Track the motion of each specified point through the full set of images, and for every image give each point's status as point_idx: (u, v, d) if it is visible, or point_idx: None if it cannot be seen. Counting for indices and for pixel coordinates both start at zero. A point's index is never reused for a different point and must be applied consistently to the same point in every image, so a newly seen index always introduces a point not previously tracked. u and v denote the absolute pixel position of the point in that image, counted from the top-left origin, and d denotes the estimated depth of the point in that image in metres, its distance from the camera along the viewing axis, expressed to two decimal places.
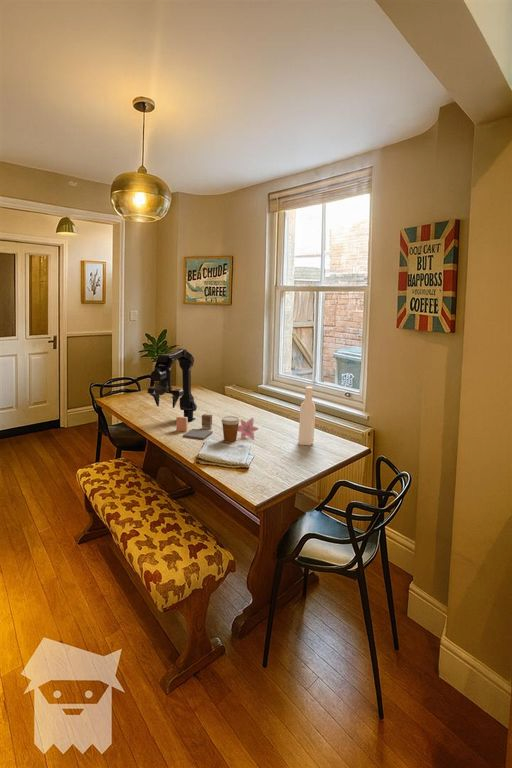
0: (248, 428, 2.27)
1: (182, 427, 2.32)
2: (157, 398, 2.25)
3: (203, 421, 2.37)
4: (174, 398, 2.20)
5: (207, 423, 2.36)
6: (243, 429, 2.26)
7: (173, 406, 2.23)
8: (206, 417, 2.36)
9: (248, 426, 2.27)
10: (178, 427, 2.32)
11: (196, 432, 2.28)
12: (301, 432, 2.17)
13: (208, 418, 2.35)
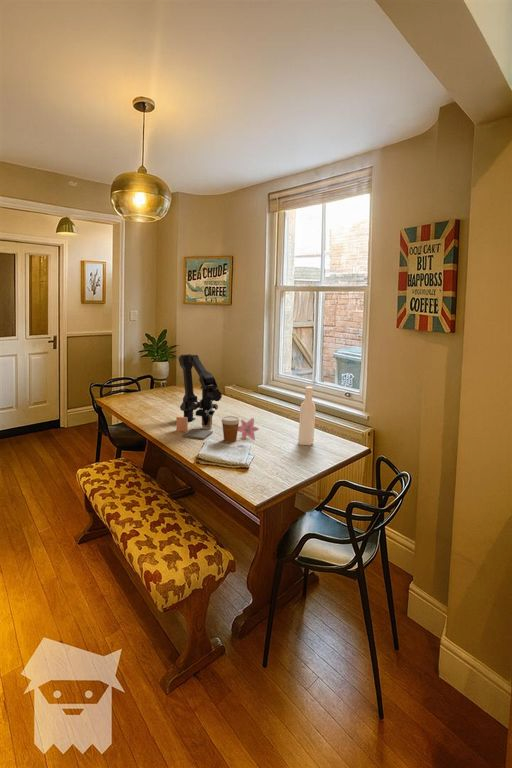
0: (249, 428, 2.27)
1: (182, 427, 2.32)
2: None
3: (203, 421, 2.37)
4: None
5: (207, 423, 2.36)
6: (243, 429, 2.26)
7: (204, 423, 2.36)
8: None
9: (248, 426, 2.27)
10: (178, 427, 2.32)
11: (196, 432, 2.28)
12: (301, 432, 2.17)
13: None
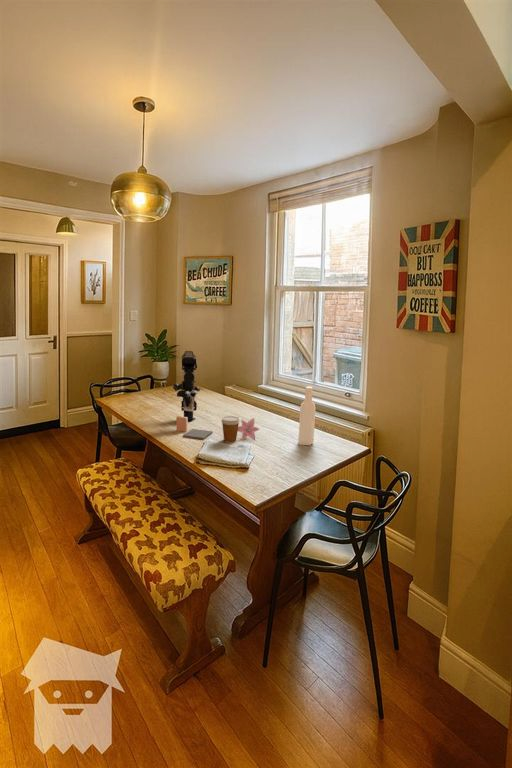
0: (249, 428, 2.27)
1: (182, 427, 2.32)
2: None
3: None
4: None
5: (189, 404, 2.36)
6: (244, 429, 2.25)
7: None
8: None
9: (249, 426, 2.26)
10: (178, 427, 2.32)
11: (196, 432, 2.28)
12: (301, 432, 2.17)
13: None
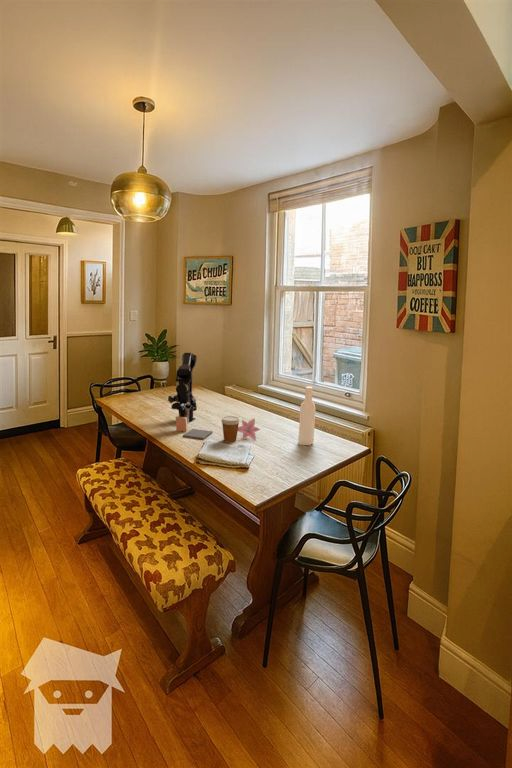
0: (249, 429, 2.26)
1: (182, 427, 2.31)
2: None
3: None
4: None
5: None
6: (244, 430, 2.25)
7: None
8: None
9: (249, 427, 2.26)
10: (178, 427, 2.32)
11: (196, 432, 2.28)
12: (301, 432, 2.17)
13: None
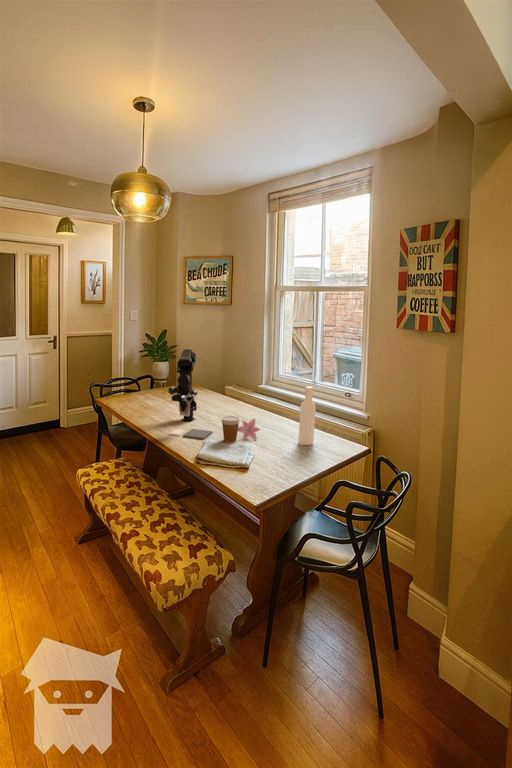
0: (250, 429, 2.26)
1: None
2: None
3: None
4: None
5: (185, 409, 2.25)
6: (245, 430, 2.25)
7: None
8: None
9: (250, 427, 2.26)
10: None
11: (196, 432, 2.28)
12: (301, 432, 2.17)
13: None
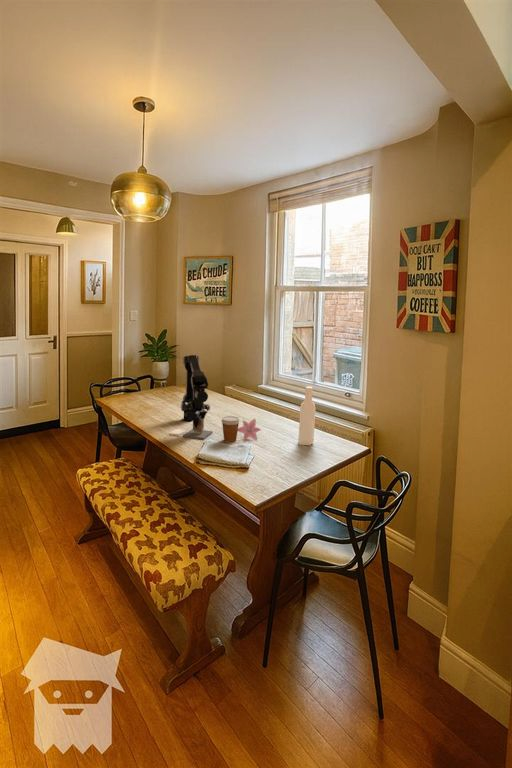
0: (250, 429, 2.26)
1: None
2: None
3: None
4: None
5: (198, 427, 2.25)
6: (245, 430, 2.24)
7: (194, 425, 2.23)
8: None
9: (250, 427, 2.26)
10: None
11: None
12: (301, 432, 2.17)
13: (199, 422, 2.24)
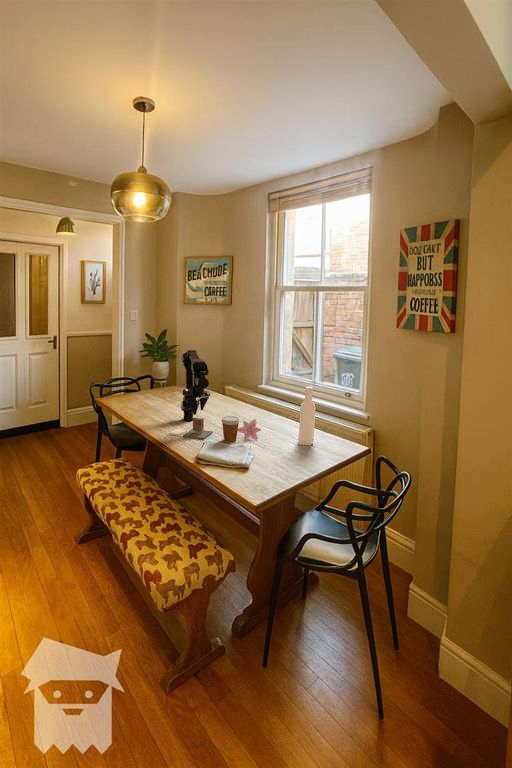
0: (251, 429, 2.26)
1: None
2: (201, 402, 2.33)
3: (194, 425, 2.25)
4: None
5: (198, 427, 2.25)
6: (245, 430, 2.24)
7: (193, 412, 2.24)
8: (197, 421, 2.24)
9: (251, 427, 2.25)
10: None
11: None
12: (301, 432, 2.17)
13: (199, 422, 2.24)
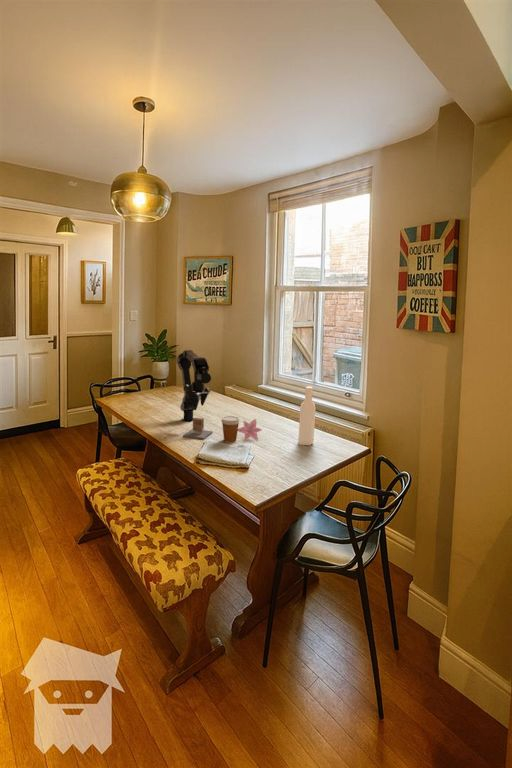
0: (251, 429, 2.25)
1: None
2: (202, 398, 2.41)
3: (194, 425, 2.25)
4: None
5: (198, 427, 2.25)
6: (246, 430, 2.24)
7: (193, 407, 2.33)
8: (197, 421, 2.24)
9: (251, 427, 2.25)
10: None
11: None
12: (301, 432, 2.17)
13: (199, 422, 2.24)
